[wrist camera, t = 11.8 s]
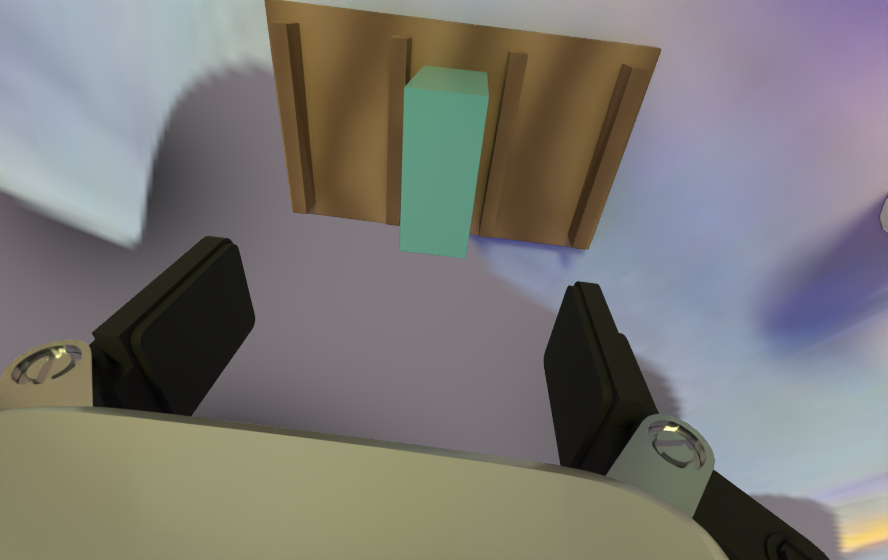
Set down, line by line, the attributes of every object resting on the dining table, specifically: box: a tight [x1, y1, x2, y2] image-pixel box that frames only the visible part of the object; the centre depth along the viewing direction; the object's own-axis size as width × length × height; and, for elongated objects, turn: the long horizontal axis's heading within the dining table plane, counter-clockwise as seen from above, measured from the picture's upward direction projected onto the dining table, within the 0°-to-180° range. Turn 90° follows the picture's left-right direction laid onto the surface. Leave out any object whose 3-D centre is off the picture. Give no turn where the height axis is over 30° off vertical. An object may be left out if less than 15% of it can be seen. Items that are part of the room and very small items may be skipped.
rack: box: [265, 0, 661, 250], centre depth 27 cm, size 24×14×3 cm, turn 84°
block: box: [400, 65, 489, 258], centre depth 24 cm, size 4×9×8 cm, turn 175°
